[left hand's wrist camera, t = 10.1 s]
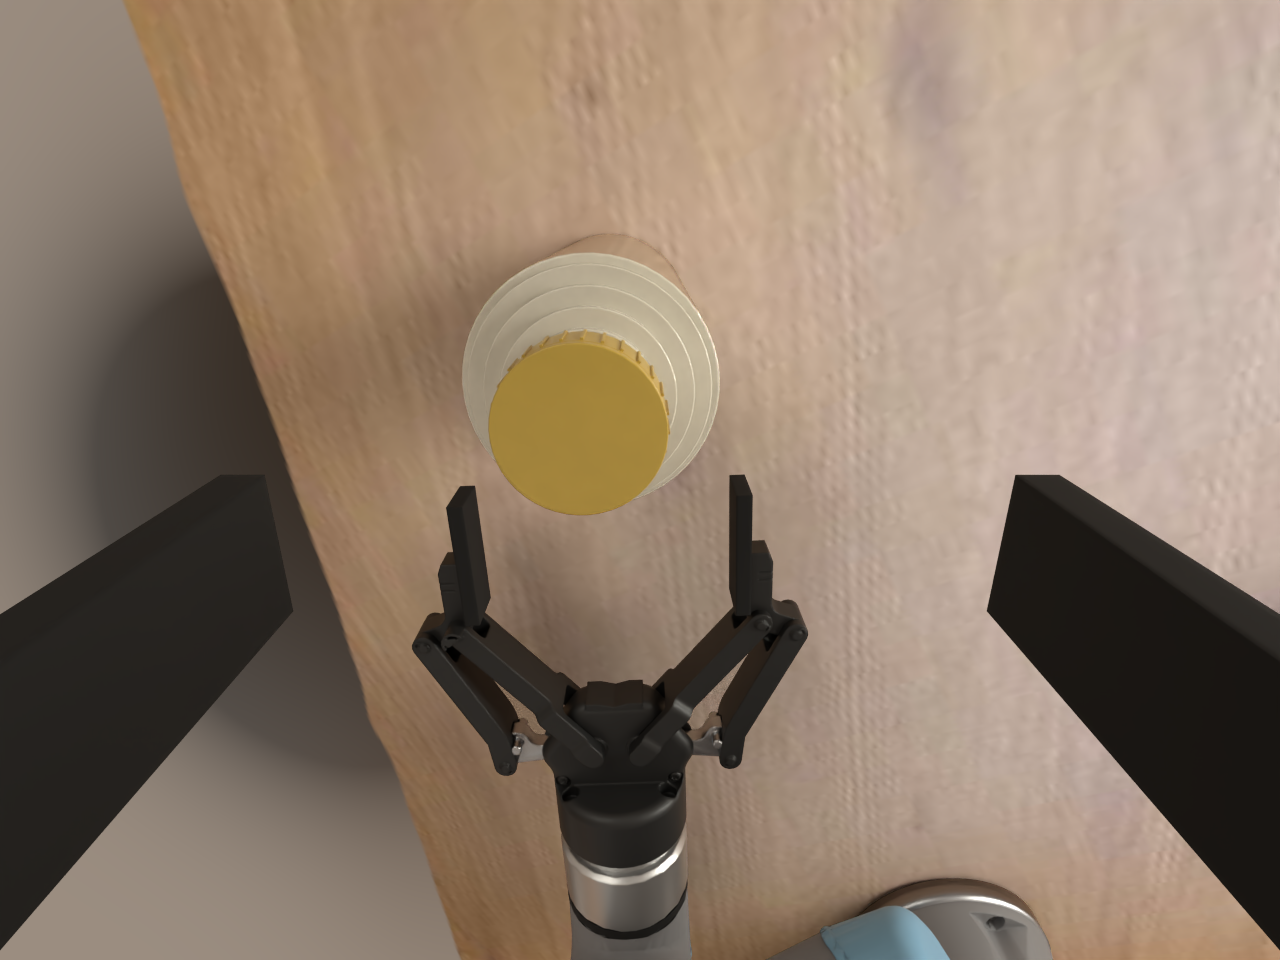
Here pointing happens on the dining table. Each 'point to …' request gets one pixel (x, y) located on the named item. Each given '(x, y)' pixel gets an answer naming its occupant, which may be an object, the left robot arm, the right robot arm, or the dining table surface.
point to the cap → (579, 423)
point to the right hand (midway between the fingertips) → (600, 489)
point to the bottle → (602, 302)
